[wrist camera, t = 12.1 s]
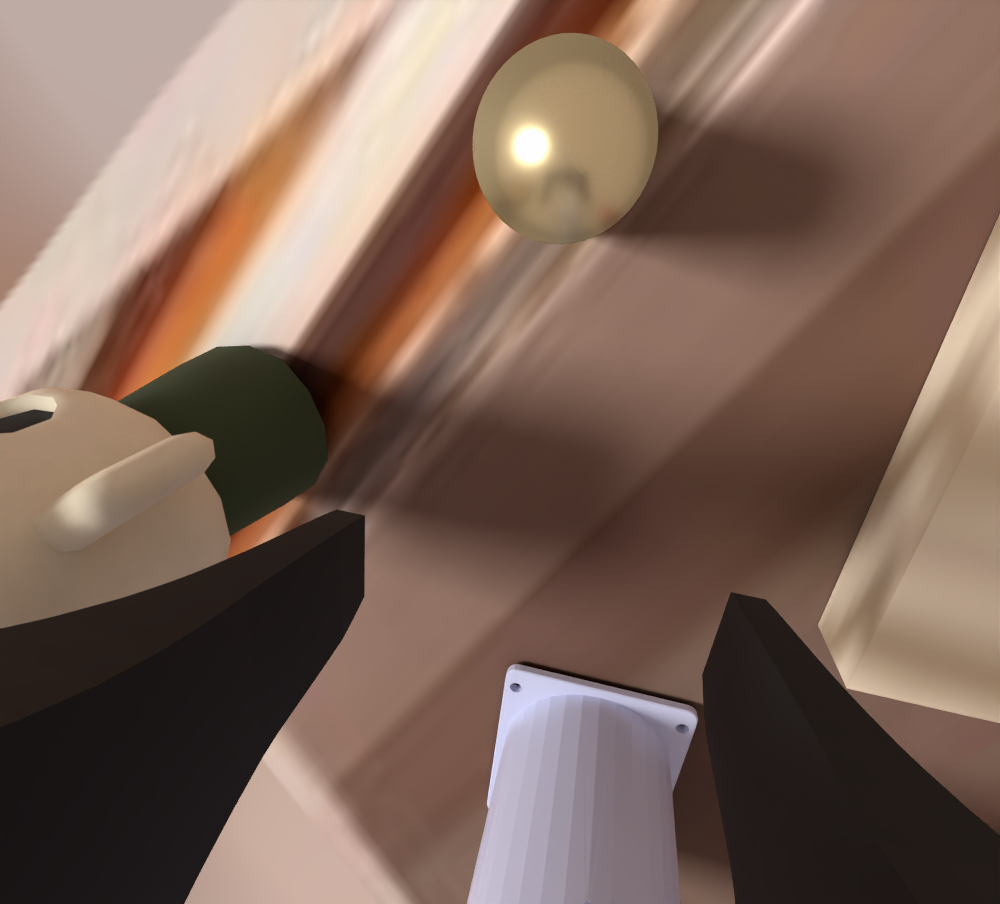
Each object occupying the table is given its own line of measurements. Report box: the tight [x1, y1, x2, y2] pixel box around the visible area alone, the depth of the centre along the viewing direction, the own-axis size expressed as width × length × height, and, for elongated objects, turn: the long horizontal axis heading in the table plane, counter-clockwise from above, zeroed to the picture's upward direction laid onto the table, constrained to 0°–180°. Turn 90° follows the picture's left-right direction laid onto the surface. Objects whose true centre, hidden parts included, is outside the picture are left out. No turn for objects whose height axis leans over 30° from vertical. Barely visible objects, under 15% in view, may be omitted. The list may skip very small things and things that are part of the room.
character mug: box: [0, 346, 327, 628], centre depth 16 cm, size 11×7×13 cm, turn 122°
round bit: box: [473, 33, 658, 244], centre depth 14 cm, size 4×4×6 cm
